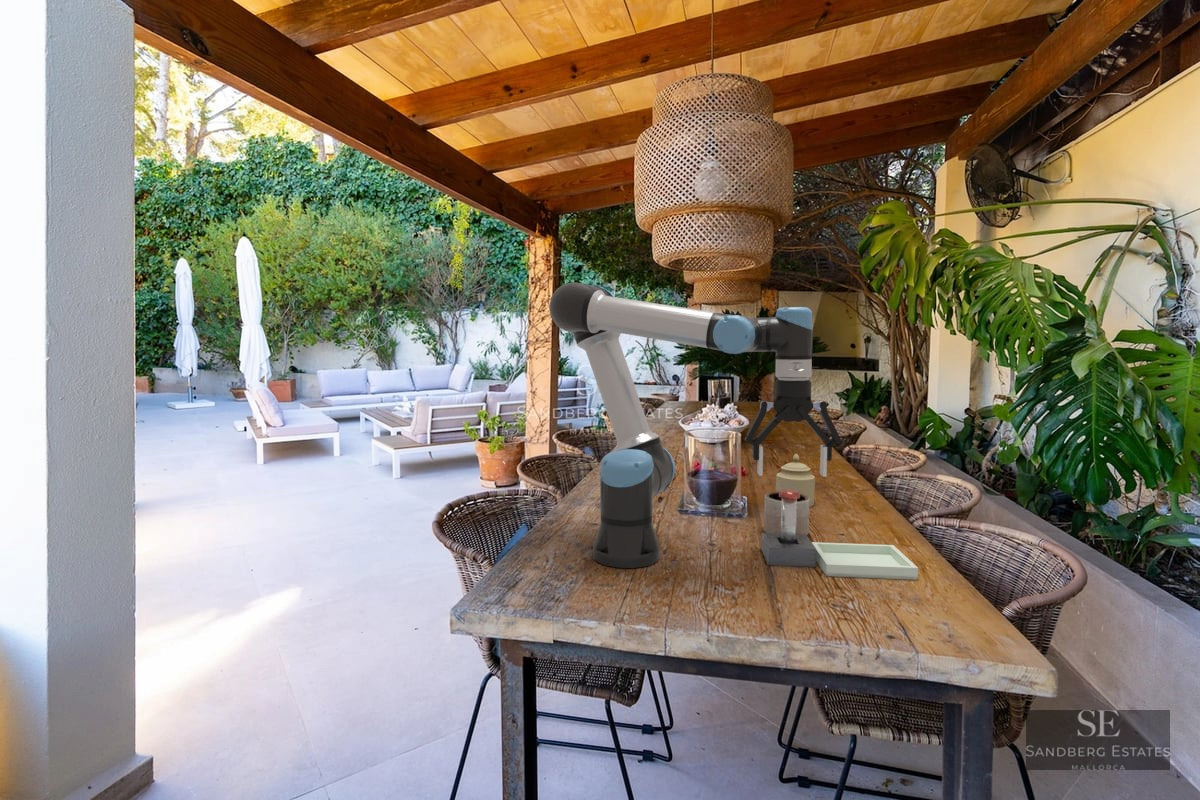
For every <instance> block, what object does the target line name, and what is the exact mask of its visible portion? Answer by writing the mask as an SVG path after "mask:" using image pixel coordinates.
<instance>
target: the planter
mask: <svg viewBox="0 0 1200 800" xmlns="http://www.w3.org/2000/svg"><path fill="white" fill-rule="evenodd" d="M781 506H782V498H780V497H779V491H777V492H776V491H771V492H766V493H765V494H764V515H763V531H764V533H781ZM809 532H810V507H809V497H808V496H806V495H803V494H800V498H799V499H797V508H796V534H806V535H807V536H808V535H809Z"/></svg>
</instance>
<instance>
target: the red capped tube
mask: <svg viewBox="0 0 1200 800" xmlns="http://www.w3.org/2000/svg"><path fill="white" fill-rule="evenodd" d="M779 497H780V498H782V506H781V539H780V543H783V544H795V539H796V508H797V499H799V498H800V492H799V491H797V490H792V489H782V490H779Z"/></svg>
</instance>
